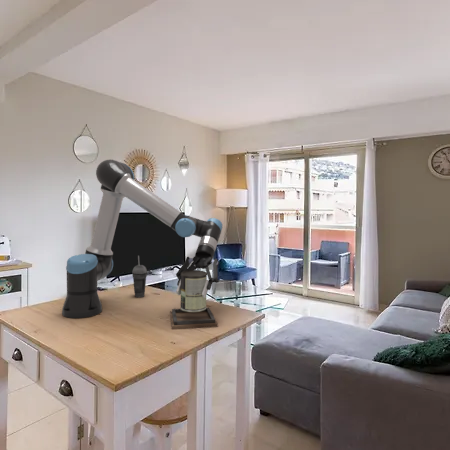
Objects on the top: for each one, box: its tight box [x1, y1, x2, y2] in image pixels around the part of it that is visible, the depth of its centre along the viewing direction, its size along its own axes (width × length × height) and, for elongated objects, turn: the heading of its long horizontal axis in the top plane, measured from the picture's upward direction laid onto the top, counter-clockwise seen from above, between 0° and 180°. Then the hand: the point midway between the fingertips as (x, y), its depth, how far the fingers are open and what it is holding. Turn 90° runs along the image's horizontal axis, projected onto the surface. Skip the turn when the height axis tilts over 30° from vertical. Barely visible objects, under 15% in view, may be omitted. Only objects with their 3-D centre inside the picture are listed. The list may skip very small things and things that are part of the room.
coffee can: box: [179, 269, 208, 312], centre depth 132 cm, size 10×10×14 cm
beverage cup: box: [131, 255, 148, 298], centre depth 165 cm, size 7×7×20 cm
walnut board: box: [169, 307, 219, 330], centre depth 133 cm, size 17×17×2 cm
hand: (190, 294), depth 129 cm, fingers closed on coffee can, 10 cm apart
